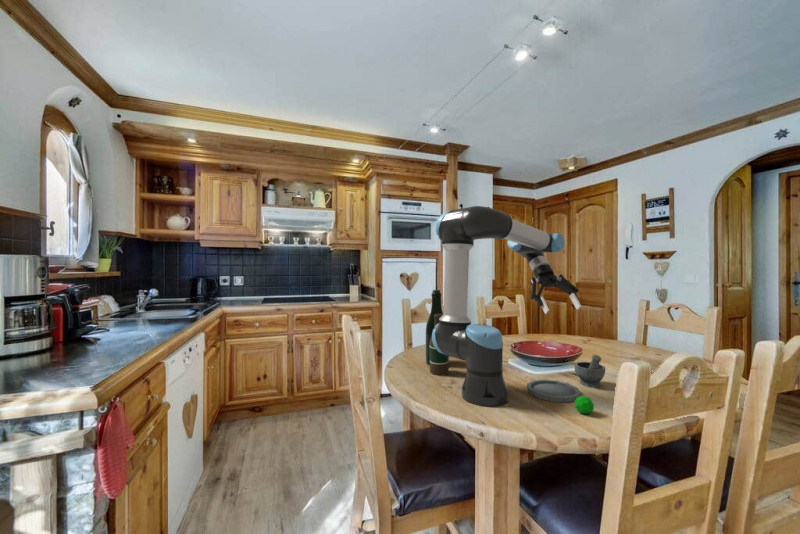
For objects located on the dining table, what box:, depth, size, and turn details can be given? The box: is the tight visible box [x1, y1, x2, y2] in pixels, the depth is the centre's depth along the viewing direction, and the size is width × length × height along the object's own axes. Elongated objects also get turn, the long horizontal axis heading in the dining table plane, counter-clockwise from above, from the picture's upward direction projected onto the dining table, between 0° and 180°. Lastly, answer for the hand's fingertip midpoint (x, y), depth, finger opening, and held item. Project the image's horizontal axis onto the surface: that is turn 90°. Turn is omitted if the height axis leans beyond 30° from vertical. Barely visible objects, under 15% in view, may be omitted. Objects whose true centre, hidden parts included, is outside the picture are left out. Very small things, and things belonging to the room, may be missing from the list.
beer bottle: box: [429, 314, 450, 376], centre depth 137 cm, size 8×8×24 cm
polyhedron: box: [574, 395, 595, 415], centre depth 99 cm, size 5×5×5 cm
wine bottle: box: [424, 289, 444, 366], centre depth 150 cm, size 10×10×33 cm
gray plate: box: [526, 379, 582, 403], centre depth 115 cm, size 16×16×2 cm
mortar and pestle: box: [574, 354, 606, 389], centre depth 121 cm, size 11×9×12 cm
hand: (563, 310), depth 133 cm, fingers open, 13 cm apart
